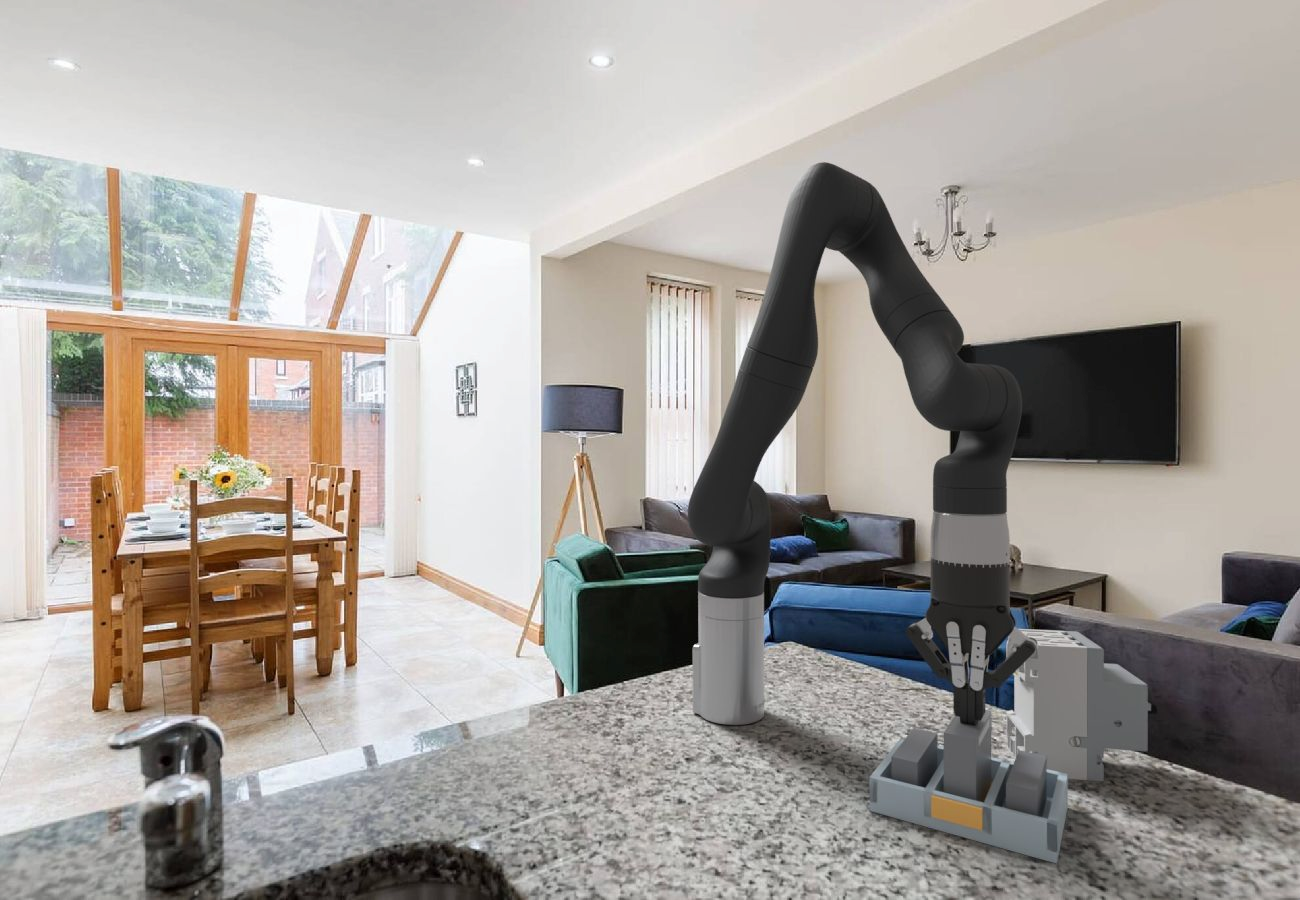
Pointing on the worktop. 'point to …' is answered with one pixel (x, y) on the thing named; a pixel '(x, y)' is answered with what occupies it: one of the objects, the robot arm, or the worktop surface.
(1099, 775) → the circuit breaker
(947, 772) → the rectangular block
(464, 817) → the worktop surface
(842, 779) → the worktop surface
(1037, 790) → the rack
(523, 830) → the worktop surface
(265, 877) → the worktop surface
